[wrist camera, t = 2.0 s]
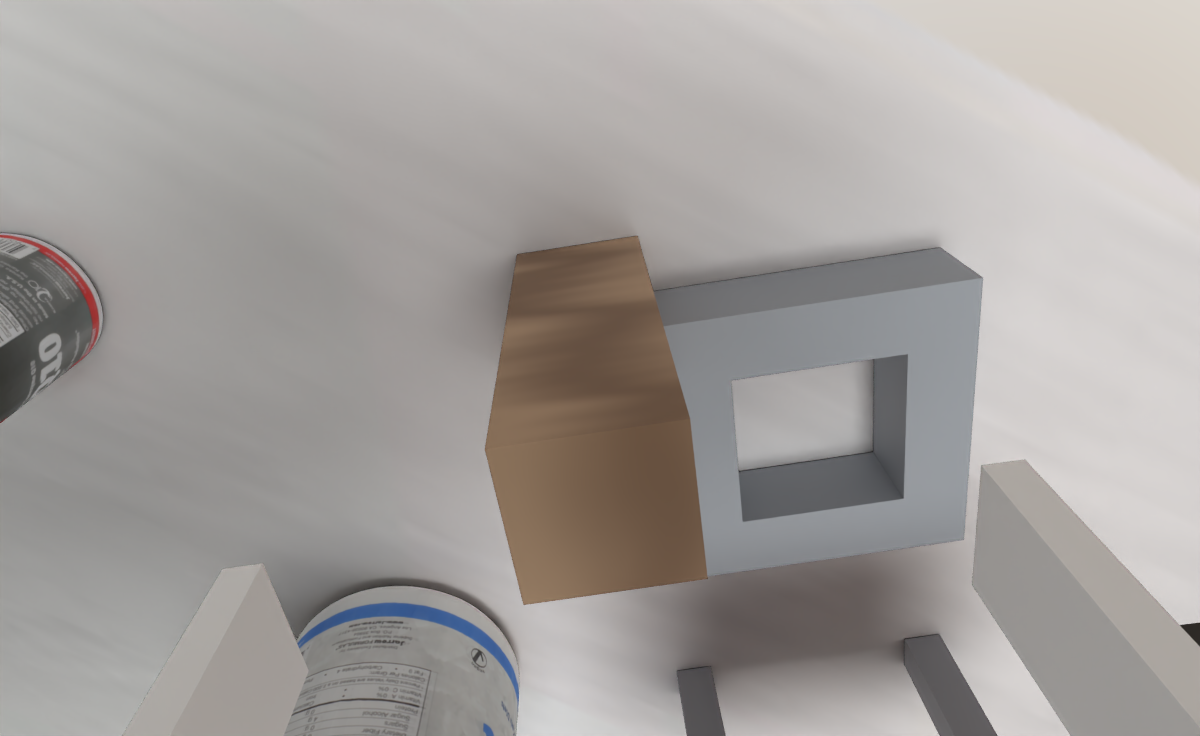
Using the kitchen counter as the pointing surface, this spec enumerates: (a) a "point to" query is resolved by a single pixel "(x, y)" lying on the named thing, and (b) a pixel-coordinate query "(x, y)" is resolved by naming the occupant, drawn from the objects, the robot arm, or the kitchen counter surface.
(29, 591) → the kitchen counter surface
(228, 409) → the kitchen counter surface
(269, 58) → the kitchen counter surface
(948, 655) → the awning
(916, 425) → the socket block
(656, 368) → the peg
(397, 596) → the supplement tub
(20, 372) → the pill bottle
